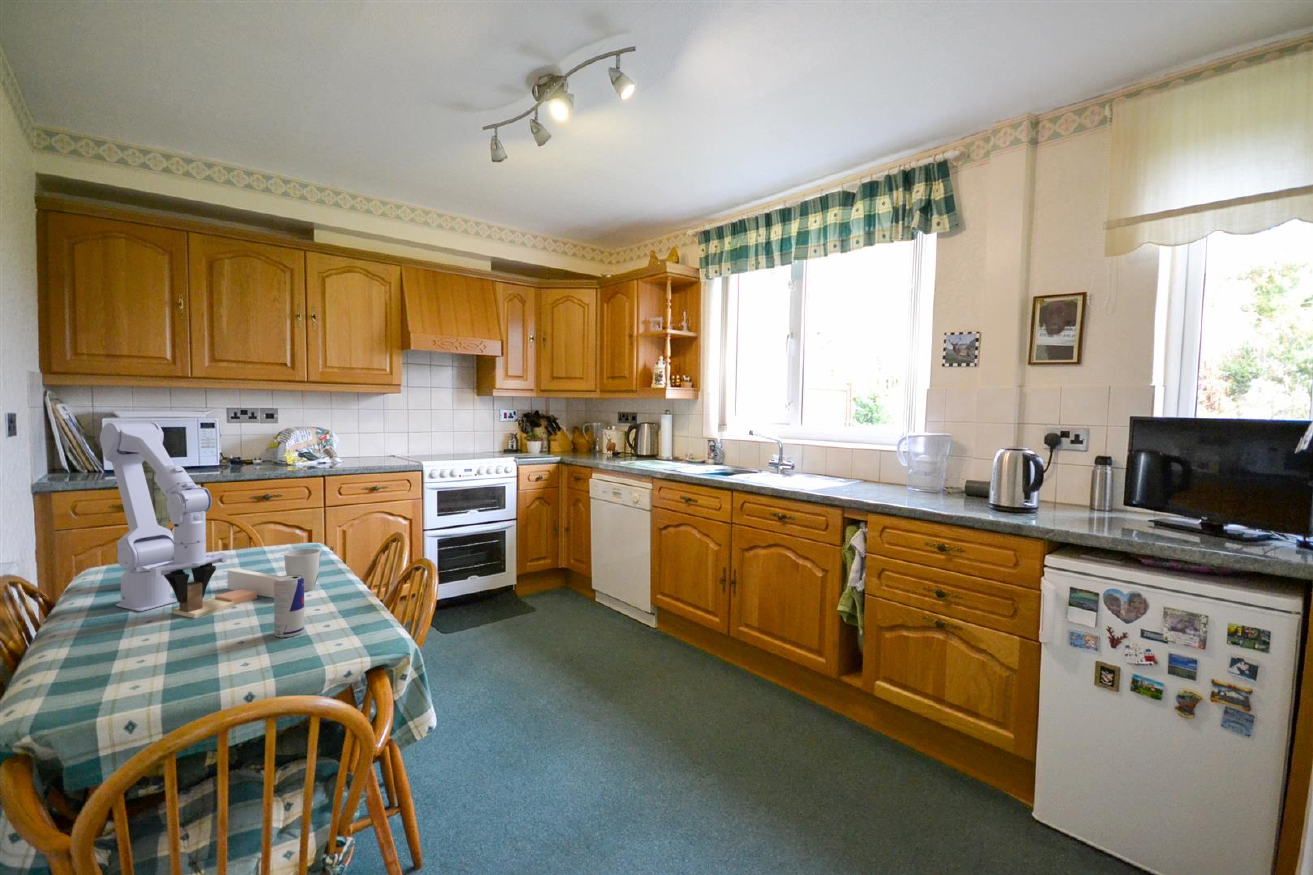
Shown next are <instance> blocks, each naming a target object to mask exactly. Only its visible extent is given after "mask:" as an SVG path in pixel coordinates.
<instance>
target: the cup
mask: <svg viewBox="0 0 1313 875" xmlns="http://www.w3.org/2000/svg"><path fill="white" fill-rule="evenodd" d="M283 555H284V567H285V575H292V574H299V575H303V578H304V593H305V592H306V593H307V592H310V591H312V590H314V589H315V588H316V583H317V581H318V578H319V572H320V563H321V549H320V548H313V547H312V548H310V547H309V548H299V549H292V550H288V551H286V552H285V553H284V554H283Z"/></svg>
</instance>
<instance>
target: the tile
mask: <svg viewBox="0 0 1313 875" xmlns="http://www.w3.org/2000/svg"><path fill="white" fill-rule="evenodd" d="M214 598H215V599H220V600H225V601H230V602H235V606H237V605H240V604H243V603H247V602H251V601H254V600H257V599H258V595H257V592H256V591H250V590H245V589H238V590H231V591H228V592H224V593H221V594H217V595H215V596H214Z"/></svg>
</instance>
